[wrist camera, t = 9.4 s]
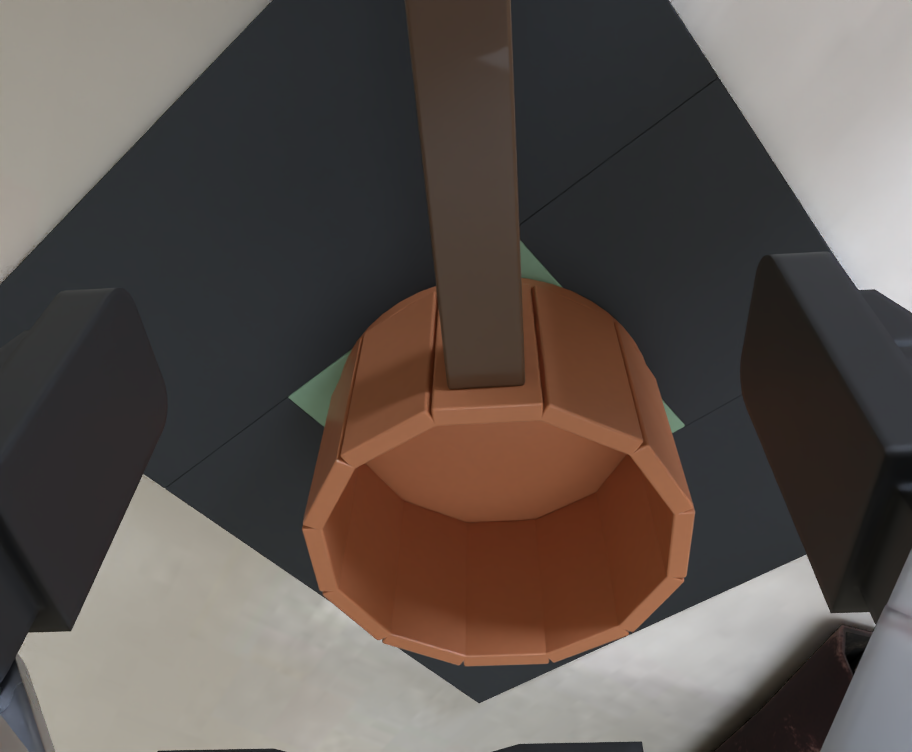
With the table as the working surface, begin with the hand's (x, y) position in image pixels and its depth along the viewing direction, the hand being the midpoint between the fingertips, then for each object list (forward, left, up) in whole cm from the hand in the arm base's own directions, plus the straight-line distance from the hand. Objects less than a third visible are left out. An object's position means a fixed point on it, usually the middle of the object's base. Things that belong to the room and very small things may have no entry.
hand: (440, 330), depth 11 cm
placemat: (+10, -7, -14) cm, 18 cm away
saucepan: (+6, -4, -13) cm, 15 cm away
